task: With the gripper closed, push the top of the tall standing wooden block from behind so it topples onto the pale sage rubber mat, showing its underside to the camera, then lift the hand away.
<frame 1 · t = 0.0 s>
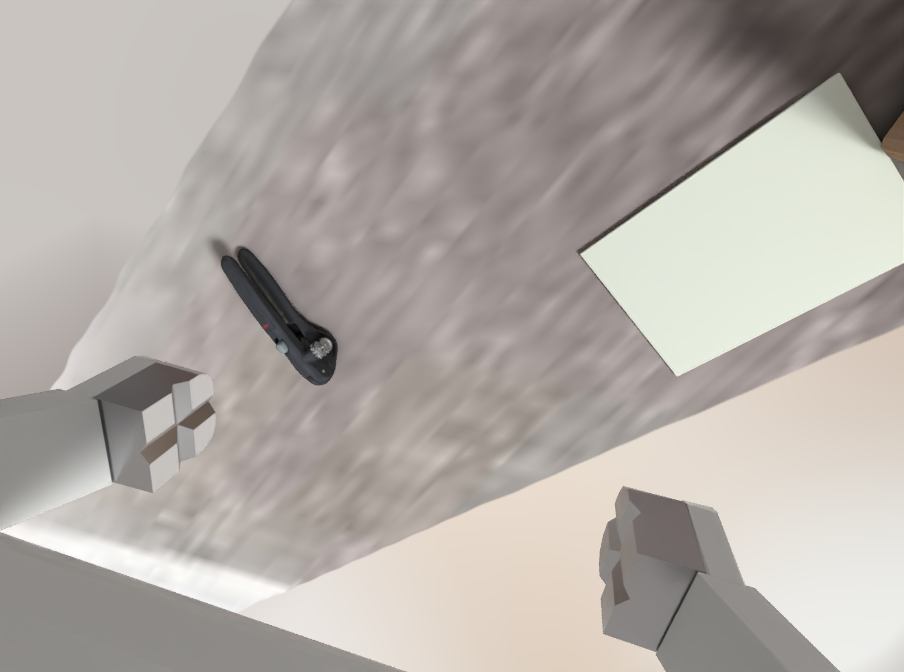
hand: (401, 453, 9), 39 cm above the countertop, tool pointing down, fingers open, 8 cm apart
can opener: (293, 309, 58), on the countertop
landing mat: (743, 248, 42), on the countertop
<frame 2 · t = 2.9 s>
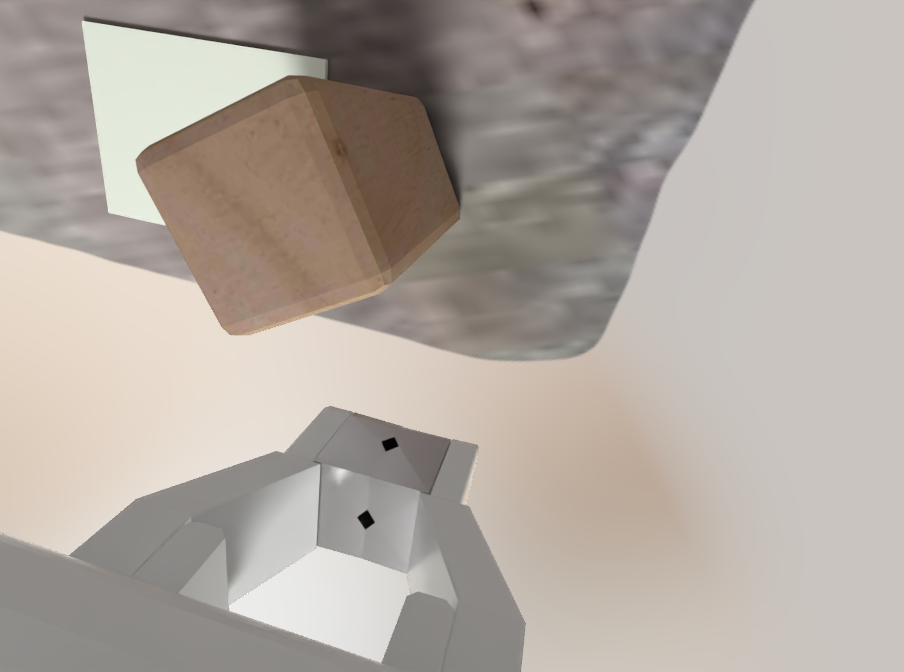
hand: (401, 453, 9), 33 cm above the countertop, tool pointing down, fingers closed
wooden block: (390, 179, 41), on the countertop, touching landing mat
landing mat: (207, 144, 43), on the countertop
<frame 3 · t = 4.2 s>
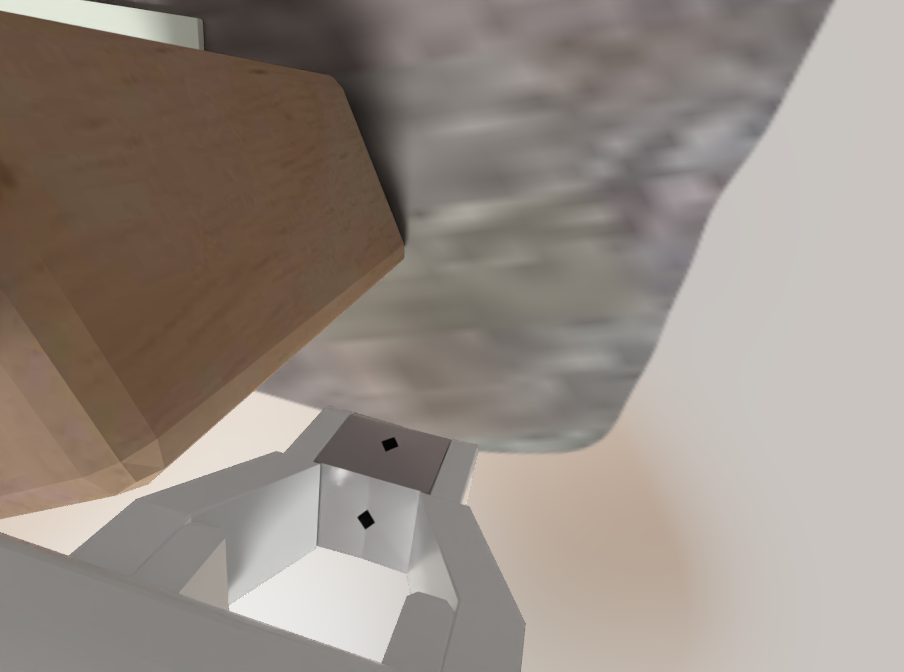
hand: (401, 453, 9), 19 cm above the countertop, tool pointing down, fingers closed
wooden block: (305, 199, 28), on the countertop, touching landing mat
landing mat: (51, 146, 30), on the countertop
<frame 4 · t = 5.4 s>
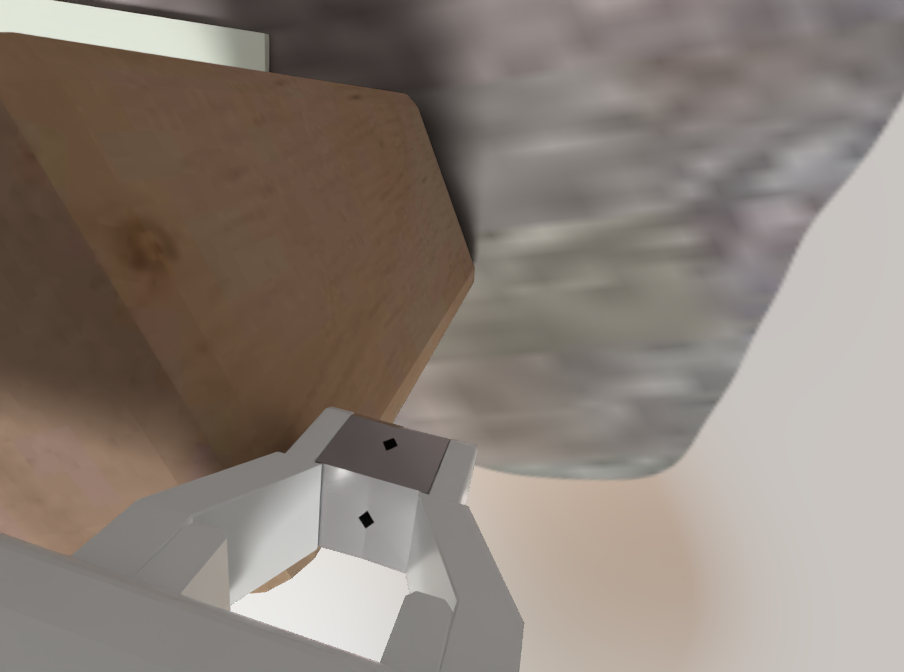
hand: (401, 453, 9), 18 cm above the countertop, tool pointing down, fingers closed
wooden block: (368, 219, 27), on the countertop, touching gripper, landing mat
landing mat: (100, 163, 29), on the countertop
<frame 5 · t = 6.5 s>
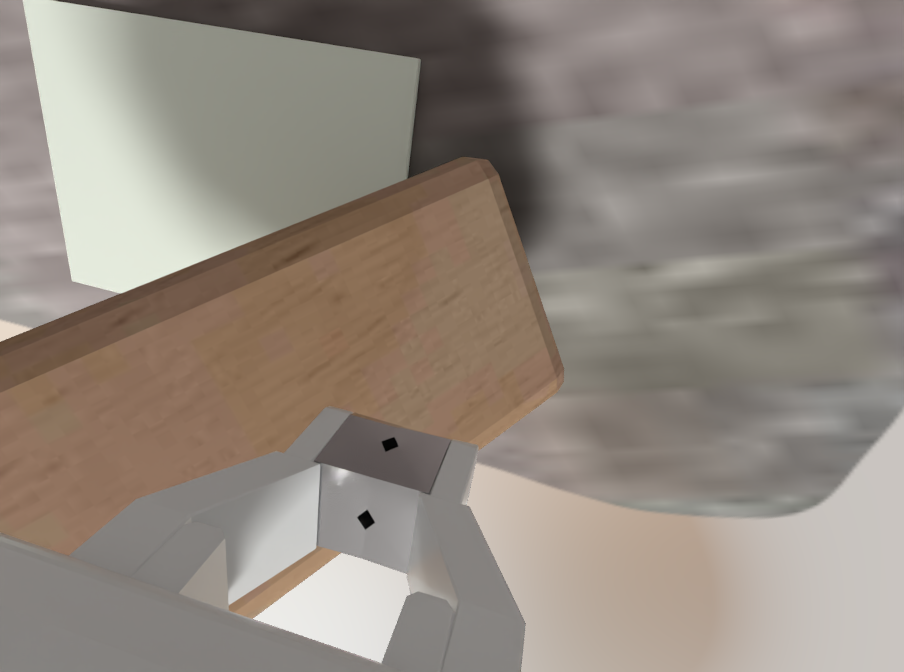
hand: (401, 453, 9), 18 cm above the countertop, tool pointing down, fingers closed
wooden block: (474, 274, 23), point 4 cm above the countertop, touching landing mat
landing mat: (219, 188, 28), on the countertop
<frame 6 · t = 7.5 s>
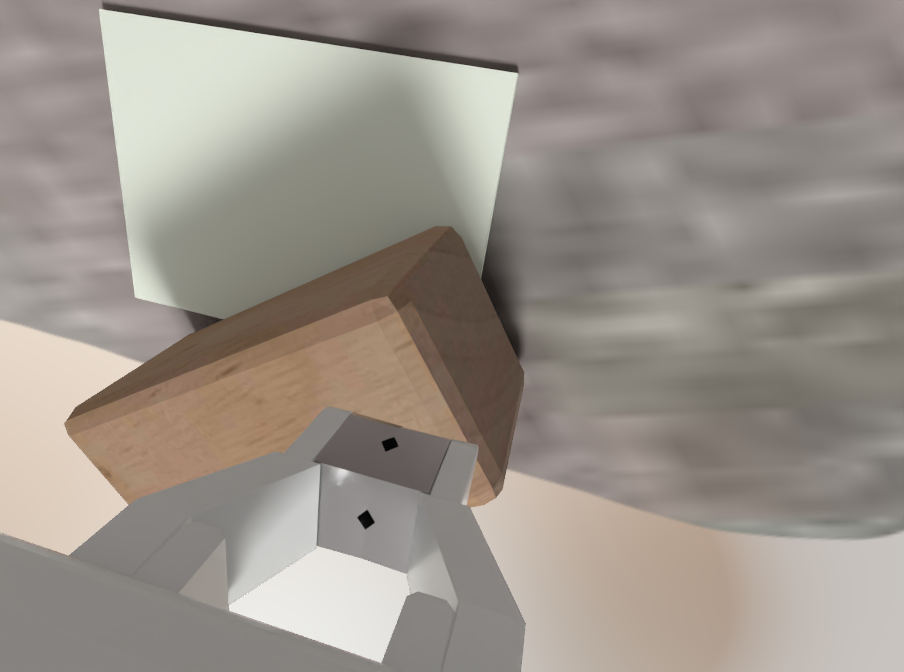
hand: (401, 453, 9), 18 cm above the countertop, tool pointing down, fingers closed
wooden block: (483, 343, 22), point 6 cm above the countertop, touching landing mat
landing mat: (295, 204, 28), on the countertop
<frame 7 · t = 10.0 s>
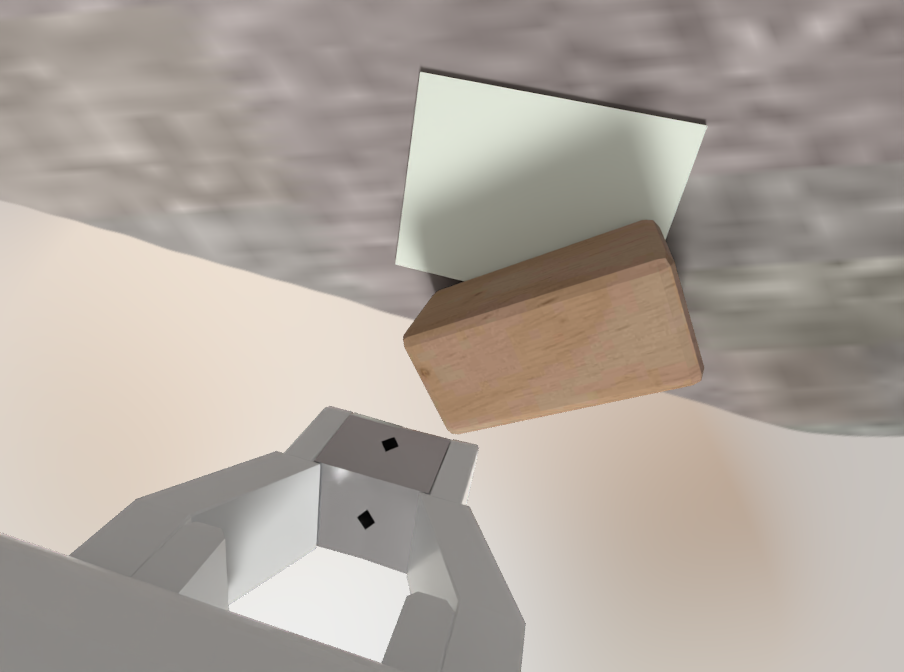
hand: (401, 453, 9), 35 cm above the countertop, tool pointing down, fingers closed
wooden block: (683, 292, 35), point 6 cm above the countertop, touching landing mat
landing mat: (532, 202, 41), on the countertop
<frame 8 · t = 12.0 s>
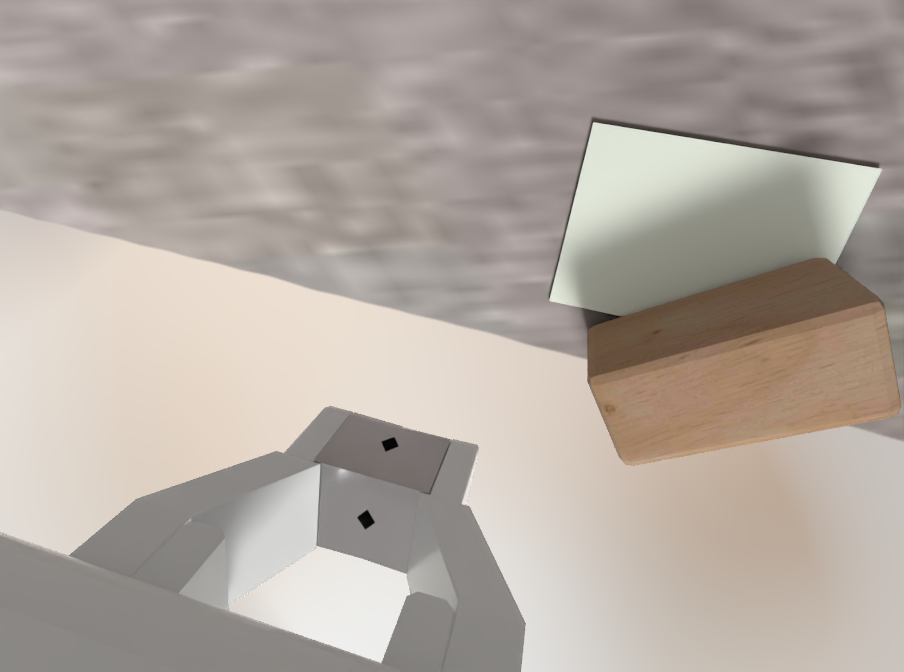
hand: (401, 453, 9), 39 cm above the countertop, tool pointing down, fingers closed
wooden block: (867, 327, 37), point 6 cm above the countertop, touching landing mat
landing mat: (695, 241, 43), on the countertop
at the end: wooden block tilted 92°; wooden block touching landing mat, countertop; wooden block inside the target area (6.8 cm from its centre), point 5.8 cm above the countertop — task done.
